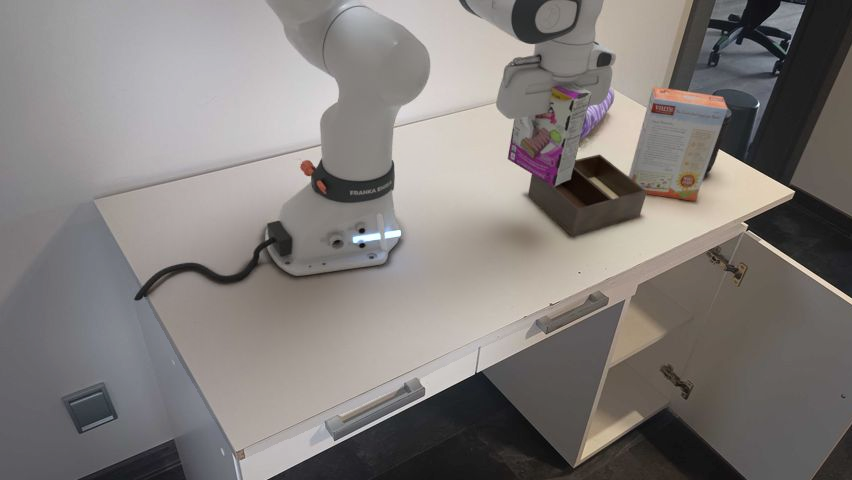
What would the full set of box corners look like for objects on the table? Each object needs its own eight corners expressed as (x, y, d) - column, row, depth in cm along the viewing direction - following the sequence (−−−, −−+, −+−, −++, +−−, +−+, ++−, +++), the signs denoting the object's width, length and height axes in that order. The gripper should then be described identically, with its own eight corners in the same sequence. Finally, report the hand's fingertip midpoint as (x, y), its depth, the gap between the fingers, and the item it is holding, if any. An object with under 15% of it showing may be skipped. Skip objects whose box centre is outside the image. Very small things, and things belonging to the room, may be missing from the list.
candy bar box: (505, 160, 120) (520, 70, 109) (524, 152, 123) (540, 64, 112) (553, 189, 114) (574, 97, 104) (572, 180, 118) (593, 90, 107)
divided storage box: (571, 236, 126) (577, 210, 123) (527, 195, 135) (532, 169, 131) (639, 216, 134) (647, 191, 130) (593, 178, 143) (599, 154, 139)
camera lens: (666, 163, 152) (686, 100, 142) (697, 160, 154) (718, 99, 145) (685, 182, 146) (707, 119, 137) (716, 179, 149) (740, 117, 139)
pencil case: (577, 102, 170) (584, 65, 164) (612, 112, 168) (621, 76, 162) (547, 138, 154) (554, 99, 148) (586, 150, 152) (595, 111, 146)
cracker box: (692, 187, 145) (724, 95, 132) (695, 202, 141) (729, 109, 127) (627, 176, 145) (653, 83, 132) (628, 191, 141) (655, 97, 127)
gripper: (518, 67, 98) (504, 152, 107) (624, 54, 108) (604, 133, 117) (495, 50, 102) (483, 133, 111) (600, 39, 112) (582, 116, 121)
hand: (546, 133), depth 114 cm, fingers closed on candy bar box, 5 cm apart
